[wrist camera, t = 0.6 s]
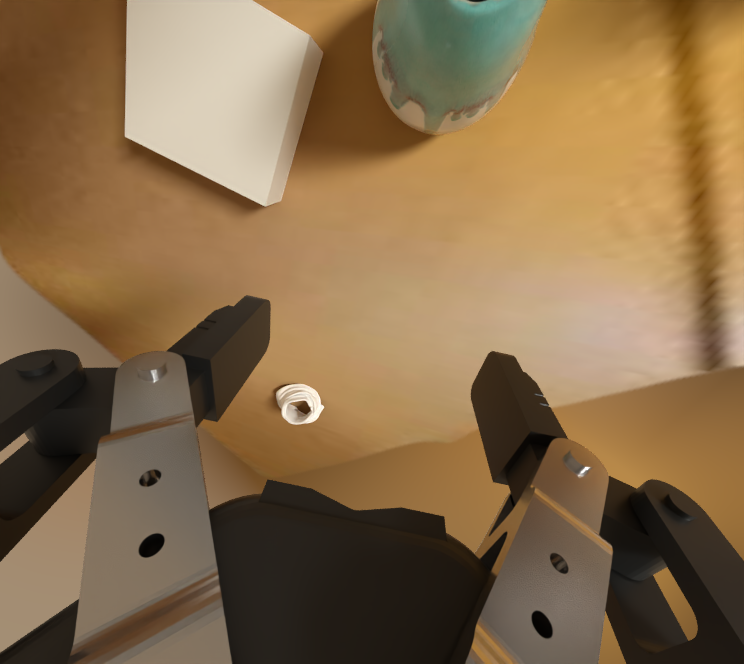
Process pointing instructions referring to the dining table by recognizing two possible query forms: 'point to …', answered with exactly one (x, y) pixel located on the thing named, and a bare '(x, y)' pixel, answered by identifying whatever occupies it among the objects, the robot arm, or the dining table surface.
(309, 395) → the whipped cream
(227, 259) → the dining table surface
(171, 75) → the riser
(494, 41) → the vase
